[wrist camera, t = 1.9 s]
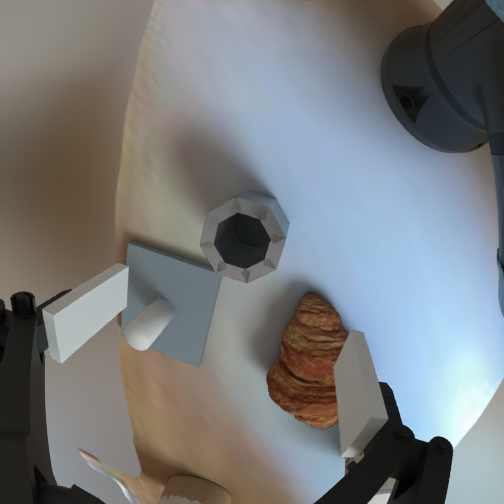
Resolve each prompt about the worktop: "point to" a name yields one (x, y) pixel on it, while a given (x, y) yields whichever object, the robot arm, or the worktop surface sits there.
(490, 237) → the worktop surface
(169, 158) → the worktop surface
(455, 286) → the worktop surface
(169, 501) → the vase
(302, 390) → the pastry
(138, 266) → the shaft block
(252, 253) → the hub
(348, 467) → the coffee cup
